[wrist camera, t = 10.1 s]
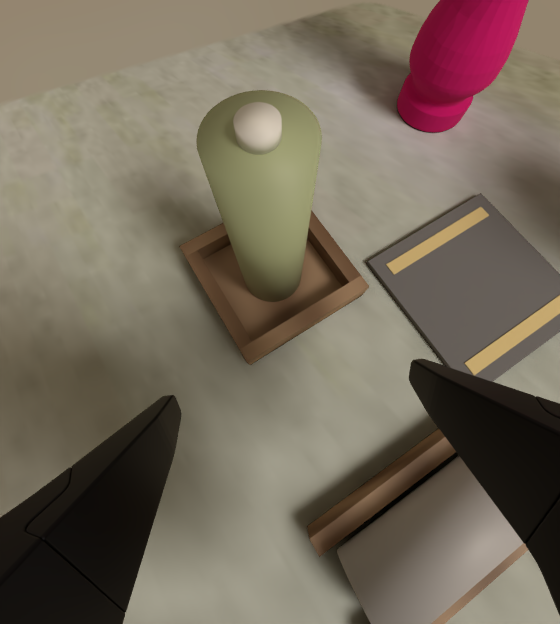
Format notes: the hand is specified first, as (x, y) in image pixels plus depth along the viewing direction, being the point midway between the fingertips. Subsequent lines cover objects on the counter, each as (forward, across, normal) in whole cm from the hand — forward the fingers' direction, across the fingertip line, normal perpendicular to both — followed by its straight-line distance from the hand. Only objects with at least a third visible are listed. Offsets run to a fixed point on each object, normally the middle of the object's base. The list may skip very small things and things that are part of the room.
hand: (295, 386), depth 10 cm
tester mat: (+11, +16, -3) cm, 19 cm away
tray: (+13, 0, 0) cm, 13 cm away
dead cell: (+1, +8, -13) cm, 15 cm away
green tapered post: (+12, 0, 0) cm, 12 cm away
